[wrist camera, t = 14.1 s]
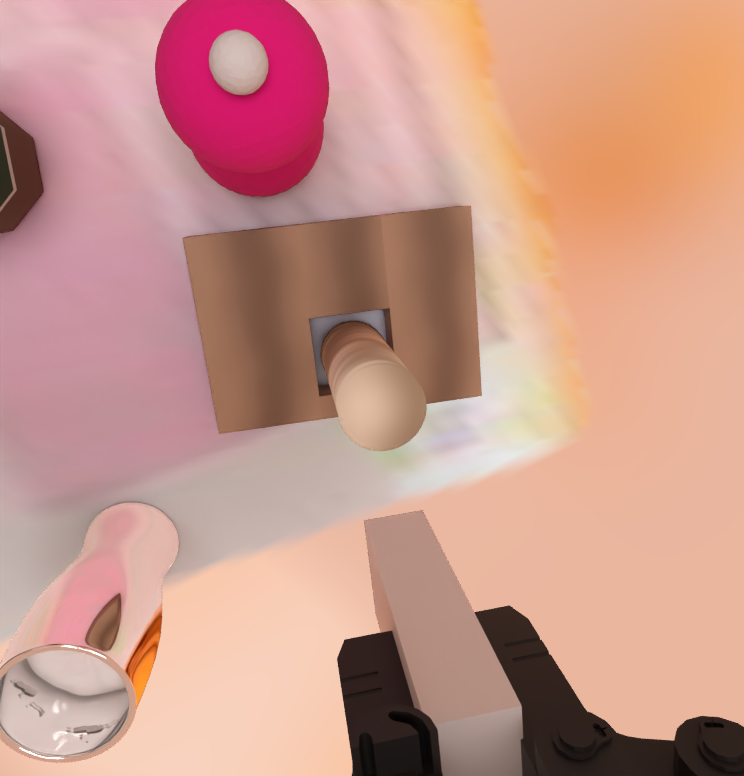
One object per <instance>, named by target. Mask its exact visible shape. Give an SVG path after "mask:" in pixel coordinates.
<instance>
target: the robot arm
mask: <svg viewBox="0 0 744 776" xmlns="http://www.w3.org/2000/svg"><path fill="white" fill-rule="evenodd" d="M364 524H365V532H366V539H367V548H368V556H369V564H370V572H371V580H372V588H373V596H374V604H375V611H376V616H377V620H378V624H379V628H380V631H381V633H376V634H371V635H366V636H362V637H356V638H351V639H346V640H344V643H343V645H342V648H341V650H340V653H339V656H338V658H337V661H338V667H339V675H340V681H341V688H342V694H343V701H344V708H345V715H346V721H347V727H348V734H349V741H350V748H351V754H352V761H353V773H352V776H744V727H743V726H741V725H739V724H738V723H735V722H732V721H729V720H726V719H723V718H719V717H707V716H700V717H696V718H692V719H689V720H686V721H685V722H684V723H683V724H682V725H680V726H679V728H677V731H676V736H675V740H674V741H670V740H655V739H641V738H635V737H628V736H625V735H621V734H619V733H616V732H615V731H614V729H613V728H611V726H610V725H609V724H608V723H607V722H606V721H605V720H603V719H601V718H599V717H598V716H596V715H594V714H592V713H590V712H587V711H586V709H585V708H584V707H583V705H582V704H581V702H580V700H579V699H578V697H577V696H576V694H575V692H574V691H573V689H572V688H571V686H570V684H569V683H568V681H567V680H566V678H565V677H564V675H563V673H562V672H561V670H560V669H559V667H558V666H557V664H556V662H555V661H554V659H553V658H552V656H551V655H549V652H548V650H547V648H546V647H545V645H544V643H543V642H542V640H540V638H539V635H538V634H537V632H536V631H535V629H534V627H533V626H532V624H531V623H530V621H529V619H528V618H526V617H525V616H523V615H522V614H521V613H519V612H518V611H516V610H515V609H513V608H512V607H511V606H505V607H500V608H494V609H489V610H484V611H479V612H474V611H473V609H472V607H471V605H470V603H469V601H468V599H467V597H466V595H465V593H464V591H463V589H462V587H461V585H460V583H459V581H458V580H457V577H456V575H455V573H454V571H453V570H452V568H451V566H450V564H449V562H448V560H447V558H446V556H445V554H444V552H443V550H442V548H441V546H440V544H439V542H438V540H437V538H436V536H435V534H434V532H433V530H432V528H431V526H430V524H429V522H428V520H427V518H426V516H425V514H424V512H423V510H421V511H415V512H410V513H404V514H398V515H392V516H386V517H381V518H375V519H369V520H364Z"/></svg>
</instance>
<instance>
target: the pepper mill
mask: <svg viewBox="0 0 744 776" xmlns="http://www.w3.org/2000/svg"><path fill="white" fill-rule="evenodd" d="M155 74H156V85H157V90H158V95H159V99H160V103H161V106H162V108H163V111H164V113H165V116H166V118H167V119H168V121H169V123H170V125H171V127H172V128H173V130H174V131H175V133H176V134H177V135H178V136H179V137H180V139H181V140H182V141H183V142H184V144H186V145H187V146H188V147H189V148H190V149H191V150H192V152H193V154H194V156H195V158H196V160H197V161H198V162H199V164H200V165H201V167H202V168H203V169H204V170H205V172H206V173H207V174H208V175H209V176H210V177H211V178H212V179H214V180H215V181H216V182H217V183H219V184H220V185H222V186H224V187H225V188H227V189H229V190H231V191H234V192H236V193H239V194H243V195H248V196H271V195H276V194H279V193H281V192H284V191H286V190H288V189H290V188H292V187H293V186H295V185H297V184H298V183H299V182H300V181H301V180H302V179H303V178H304V177H305V176H306V175H307V174H308V173H309V171H310V170H311V169H312V167H313V166H314V164H315V162H316V160H317V158H318V155H319V153H320V150H321V146H322V141H323V131H324V123H323V119H324V117H325V113H326V109H327V105H328V97H329V81H328V71H327V64H326V59H325V56H324V53H323V51H322V48H321V45H320V43H319V41H318V39H317V37H316V35H315V33H314V31H313V30H312V28H311V27H310V26H309V24H308V23H307V21H306V20H305V19H304V17H303V16H302V15H301V14H300V13H299V12H298V11H297V10H296V9H295V8H294V7H293V6H291V5H290V4H289V3H288V2H287V1H285V0H187V1H186V2H184V3H183V4H182V5H181V6H180V7H179V8H178V9H177V10H176V11H175V12H174V13H173V15H172V16H171V18H170V20H169V21H168V23H167V25H166V26H165V28H164V30H163V33H162V36H161V39H160V41H159V44H158V47H157V53H156V61H155Z"/></svg>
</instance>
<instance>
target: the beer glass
mask: <svg viewBox="0 0 744 776" xmlns="http://www.w3.org/2000/svg"><path fill="white" fill-rule="evenodd" d="M178 548H179V539H178V534H177V531H176V528H175V526H174V524H173V523H172V521H171V520H170V519H169V518H168V517H167V516H166V515H165V514H164V513H163V512H161V511H160V510H158V509H157V508H155V507H152V506H150V505H147V504H143V503H136V502H127V503H121V504H117V505H114V506H111V507H109V508H107V509H105V510H104V511H102V512H101V513H100V514H99V515H98V516H96V518H95V519H94V520H93V521H92V523H91V524H90V526H89V528H88V530H87V533H86V536H85V541H84V546H83V550H82V552H81V554H80V555H79V556H78V557H77V558H76V560H75V561H74V562H72V563H71V564H70V565H69V566H68V567H67V568H66V569H65V570H64V571H63V572H62V573H61V574H60V575H59V576H58V577H57V578H56V579H55V580H54V581H53V582H52V583H51V584H50V585H49V586H48V587H47V588H46V590H45V591H44V592H43V593H42V594H41V595H40V596H39V597H38V599H37V600H36V601H35V603H34V604H33V606H32V607H31V609H30V610H29V611H28V613H27V614H26V616H25V617H24V619H23V620H22V622H21V624H20V626H19V627H18V629H17V631H16V633H15V635H14V636H13V638H12V640H11V642H10V644H9V646H8V648H7V650H6V652H5V654H4V657H3V659H2V661H1V663H0V739H1V740H2V741H3V742H4V743H5V744H6V745H7V746H9V747H10V748H11V749H13V750H15V751H16V752H18V753H20V754H22V755H24V756H27V757H29V758H33V759H36V760H40V761H45V762H55V763H66V762H75V761H80V760H84V759H88V758H91V757H94V756H96V755H98V754H101V753H103V752H104V751H106V750H108V749H109V748H111V747H112V746H113V745H115V744H116V743H117V742H118V741H119V740H120V739H121V738H122V737H123V736H124V735H125V734H126V732H127V731H128V729H129V728H130V726H131V724H132V722H133V720H134V716H135V713H136V709H137V707H138V704H139V702H140V699H141V697H142V695H143V692H144V690H145V687H146V684H147V682H148V679H149V677H150V674H151V670H152V667H153V664H154V661H155V658H156V654H157V649H158V644H159V640H160V634H161V623H162V582H163V578H164V576H165V575H166V573H167V572H168V570H169V569H170V567H171V566H172V564H173V563H174V561H175V559H176V556H177V553H178Z"/></svg>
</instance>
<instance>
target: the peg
mask: <svg viewBox="0 0 744 776" xmlns="http://www.w3.org/2000/svg"><path fill="white" fill-rule="evenodd" d="M321 361H322V365H323V368H324V370H325V372H326V375H327V379H328V382H329V386H330V389H331V393H332V396H333V399H334V403H335V406H336V410H337V413H338V417H339V420H340V423H341V426H342V428H343V430H344V432H345V433H346V435H347V436H348V437H349V438H350V439H351V440H352V441H353V442H355V443H356V444H358V445H359V446H361V447H363V448H366V449H369V450H375V451H386V450H391V449H395V448H398V447H400V446H402V445H404V444H405V443H407V442H408V441H409V440H411V439H412V438H413V437H414V436H415V435H416V434H417V432H418V431H419V429H420V428H421V426H422V424H423V421H424V419H425V415H426V398H425V394H424V391H423V389H422V387H421V385H420V384H419V382H418V381H417V380H416V379H415V377H414V376H413V375H412V374H411V373H410V371H409V370H408V369H407V368H406V366H405V365H404V364H403V363H402V361H401V360H400V359H399V358H398V357H397V355H396V354H395V353H394V352H393V350H392V349H391V348H390V347H389V346H388V344H387V343H386V342H385V341H384V339H383V337H382V336H381V334H380V333H379V332H378V331H377V330H376V329H375V328H374V327H372V326H371V325H369V324H367V323H364V322H360V321H347V322H342V323H340V324H338V325H336V326H335V327H333V328H332V329H331V330H330V332H329V333H328V334H327V336H326V337H325V339H324V341H323V343H322V347H321Z"/></svg>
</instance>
